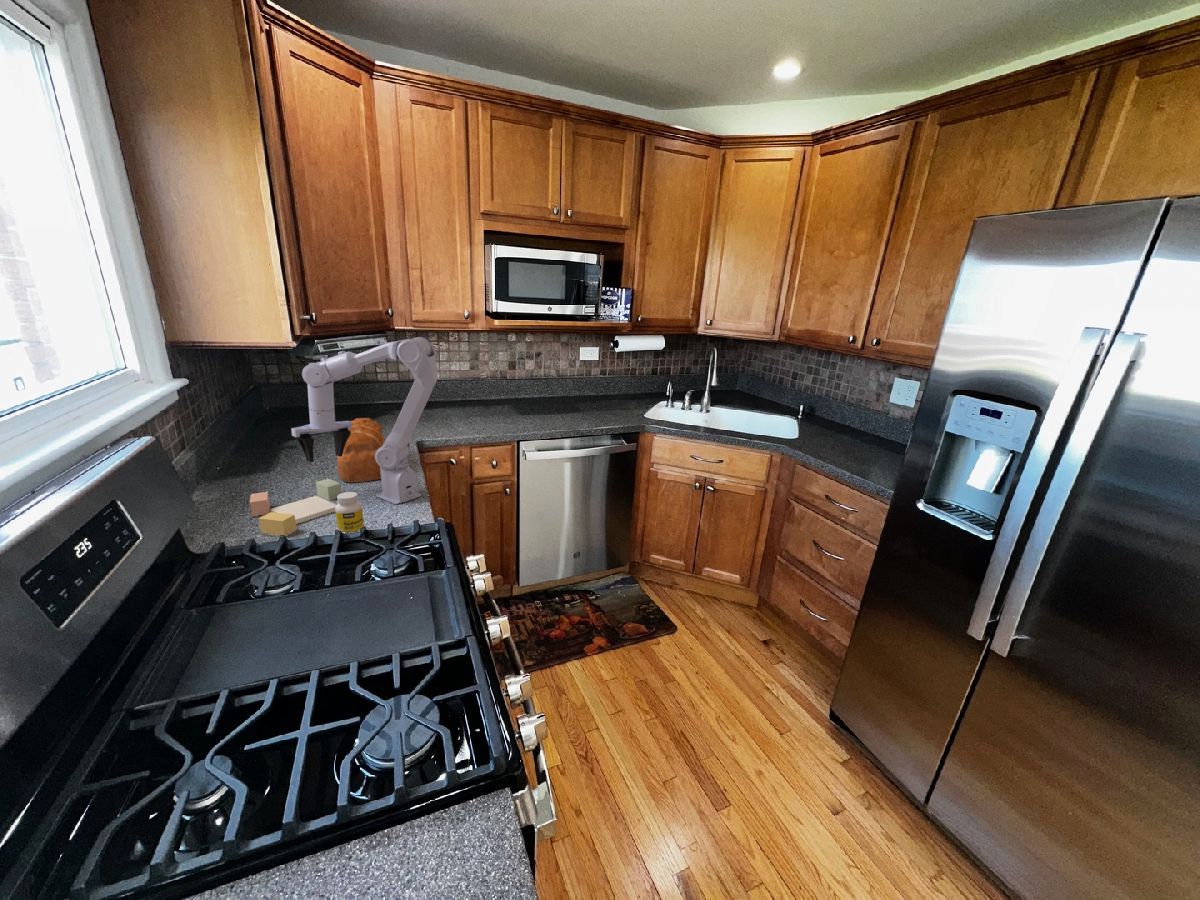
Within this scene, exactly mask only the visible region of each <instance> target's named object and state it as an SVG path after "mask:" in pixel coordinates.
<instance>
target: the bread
mask: <svg viewBox="0 0 1200 900" xmlns="http://www.w3.org/2000/svg"><path fill="white" fill-rule="evenodd" d="M348 421H349V422H352V429H348V430H349V431H351V435H350V436H349V438H348V440H347V442H346V444H345V447H344V450H343V455H342V456H341V457H339V456H337V458H336V459H337V462H336V463H337V473H338V477H339V478H340V479H341V480H342V481H344V482H345V483H366V482H372V481H373V480H374V481H377V480H381V473H380V466H379V465H378V464H377V462H376V460H375V453H376V451H377V450H378V449H379V448H380V447H382V446H383V444H384V442H385V440H386V438H385V437H384V436H383V428H382V426H381V424H380V423H379V422H377V421H376V420H374V419H373V418H370V417H358V418H355V419H353V420H348Z"/></svg>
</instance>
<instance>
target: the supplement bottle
mask: <svg viewBox="0 0 1200 900" xmlns="http://www.w3.org/2000/svg"><path fill="white" fill-rule="evenodd" d="M358 500H359V498H358V493H357V492H354V491H345V492H342V493H341V494H339V495H338V496H337V500H336V501H337V504H336V507H335V512H334V513H335V519H336V526H337V527H336V528H337V531H338V530H339V531H342V532H345V533H349V532H357V531H359V529H360V528H362V527H364V528H365V522H364V515H363V514H364V512H363V506H362V502H360V501H358Z"/></svg>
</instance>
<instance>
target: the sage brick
mask: <svg viewBox="0 0 1200 900" xmlns="http://www.w3.org/2000/svg"><path fill="white" fill-rule="evenodd" d="M341 485H342V484H341V483H340V482H338V481H335V480H334V479H333V480H332V479H330V478H325V479H323V480H319V481H315V486H316V494H317V495H316V496H318V497H320V498H322V499H325V500H327V501H329V502H331V501H332V500H336V498H337V496H338V495H339V494H341V493H343V492H342V486H341Z"/></svg>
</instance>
